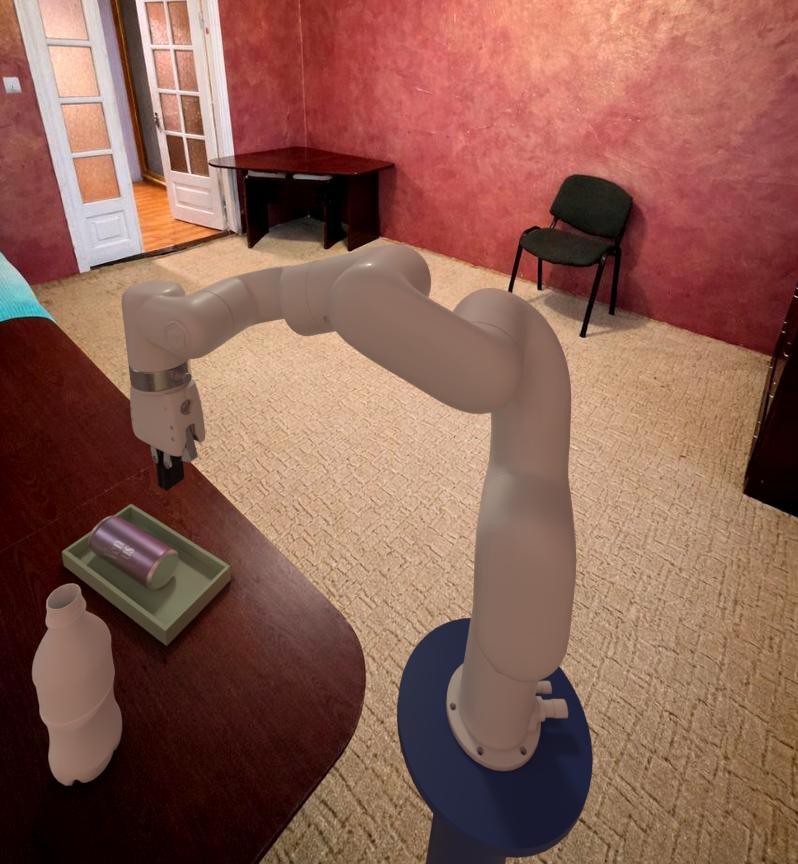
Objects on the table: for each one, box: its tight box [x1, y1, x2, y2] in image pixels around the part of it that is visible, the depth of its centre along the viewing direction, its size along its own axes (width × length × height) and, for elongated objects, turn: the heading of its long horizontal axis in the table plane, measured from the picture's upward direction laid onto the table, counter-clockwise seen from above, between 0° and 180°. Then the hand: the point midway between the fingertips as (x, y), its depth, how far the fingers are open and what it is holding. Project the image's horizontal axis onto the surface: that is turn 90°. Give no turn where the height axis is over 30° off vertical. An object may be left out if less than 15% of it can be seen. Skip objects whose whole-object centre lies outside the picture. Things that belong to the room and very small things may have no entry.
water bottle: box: [31, 583, 123, 787], centre depth 54 cm, size 7×7×25 cm
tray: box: [61, 503, 232, 647], centre depth 79 cm, size 25×12×3 cm, turn 62°
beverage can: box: [88, 515, 179, 590], centre depth 80 cm, size 6×6×15 cm
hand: (171, 482), depth 71 cm, fingers closed
